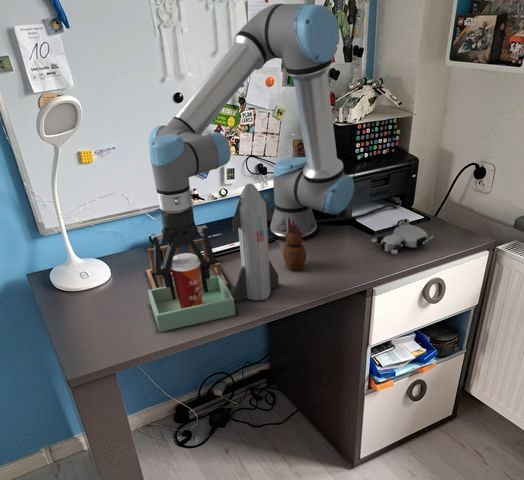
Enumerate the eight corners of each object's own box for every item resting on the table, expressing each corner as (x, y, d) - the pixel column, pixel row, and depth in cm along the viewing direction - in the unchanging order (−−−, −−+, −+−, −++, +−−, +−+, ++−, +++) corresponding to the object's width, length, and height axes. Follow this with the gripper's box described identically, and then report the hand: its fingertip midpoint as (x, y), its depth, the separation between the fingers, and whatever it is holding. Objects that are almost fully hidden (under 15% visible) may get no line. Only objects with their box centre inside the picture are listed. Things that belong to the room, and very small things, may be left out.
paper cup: (201, 316, 134) (194, 267, 125) (173, 314, 135) (164, 265, 127) (210, 300, 140) (203, 252, 131) (182, 298, 141) (174, 251, 133)
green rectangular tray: (221, 290, 145) (219, 274, 142) (235, 314, 135) (233, 298, 132) (151, 305, 141) (147, 289, 138) (159, 332, 130) (156, 315, 127)
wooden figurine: (280, 265, 155) (278, 217, 146) (297, 260, 157) (296, 212, 148) (292, 275, 150) (290, 225, 141) (309, 269, 152) (309, 220, 143)
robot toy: (394, 263, 154) (434, 247, 158) (395, 249, 151) (435, 233, 156) (368, 248, 163) (407, 233, 167) (368, 234, 160) (407, 219, 164)
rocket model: (271, 280, 148) (266, 173, 130) (286, 290, 143) (282, 181, 125) (228, 296, 142) (216, 187, 124) (242, 307, 137) (232, 195, 119)
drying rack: (212, 260, 160) (209, 237, 156) (228, 287, 146) (225, 262, 142) (147, 273, 156) (142, 249, 151) (157, 302, 142) (152, 277, 137)
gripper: (133, 221, 116) (152, 309, 130) (223, 205, 121) (232, 291, 134) (129, 209, 122) (147, 294, 135) (215, 195, 126) (224, 278, 140)
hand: (189, 293), depth 135 cm, fingers closed on paper cup, 8 cm apart
